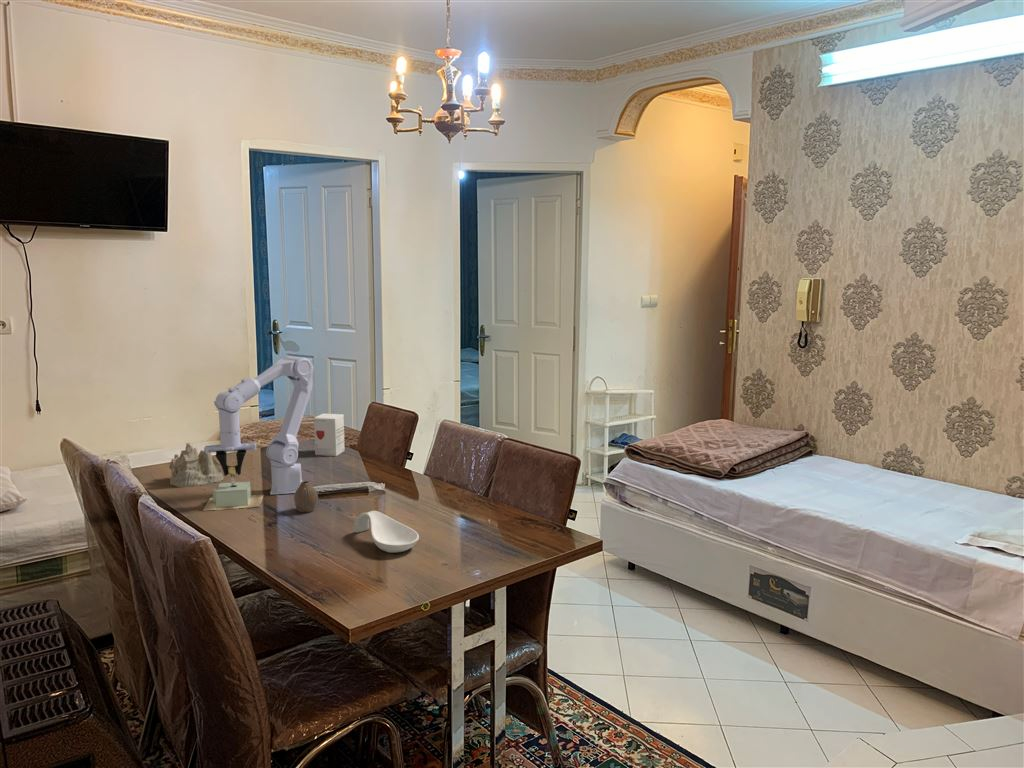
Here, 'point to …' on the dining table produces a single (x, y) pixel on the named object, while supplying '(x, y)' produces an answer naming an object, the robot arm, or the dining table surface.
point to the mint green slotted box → (232, 494)
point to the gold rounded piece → (232, 472)
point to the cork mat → (254, 502)
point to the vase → (305, 497)
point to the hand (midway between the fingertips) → (232, 474)
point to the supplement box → (329, 434)
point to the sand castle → (194, 468)
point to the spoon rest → (387, 532)
